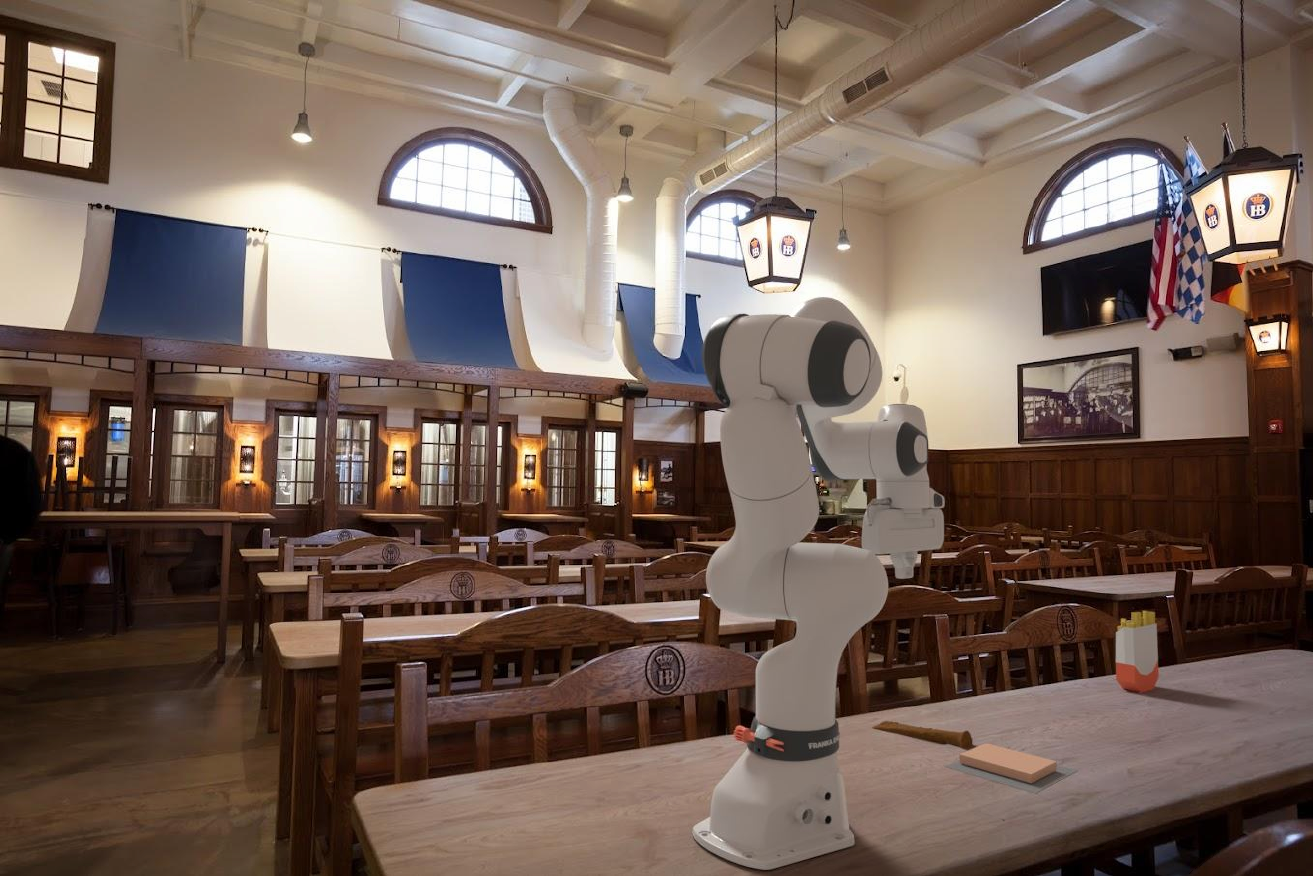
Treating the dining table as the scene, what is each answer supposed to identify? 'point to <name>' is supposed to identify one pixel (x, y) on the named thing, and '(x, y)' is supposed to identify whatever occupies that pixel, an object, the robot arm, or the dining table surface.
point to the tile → (1008, 763)
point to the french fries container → (1137, 652)
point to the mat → (1032, 787)
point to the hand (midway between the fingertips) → (904, 578)
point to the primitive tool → (928, 734)
